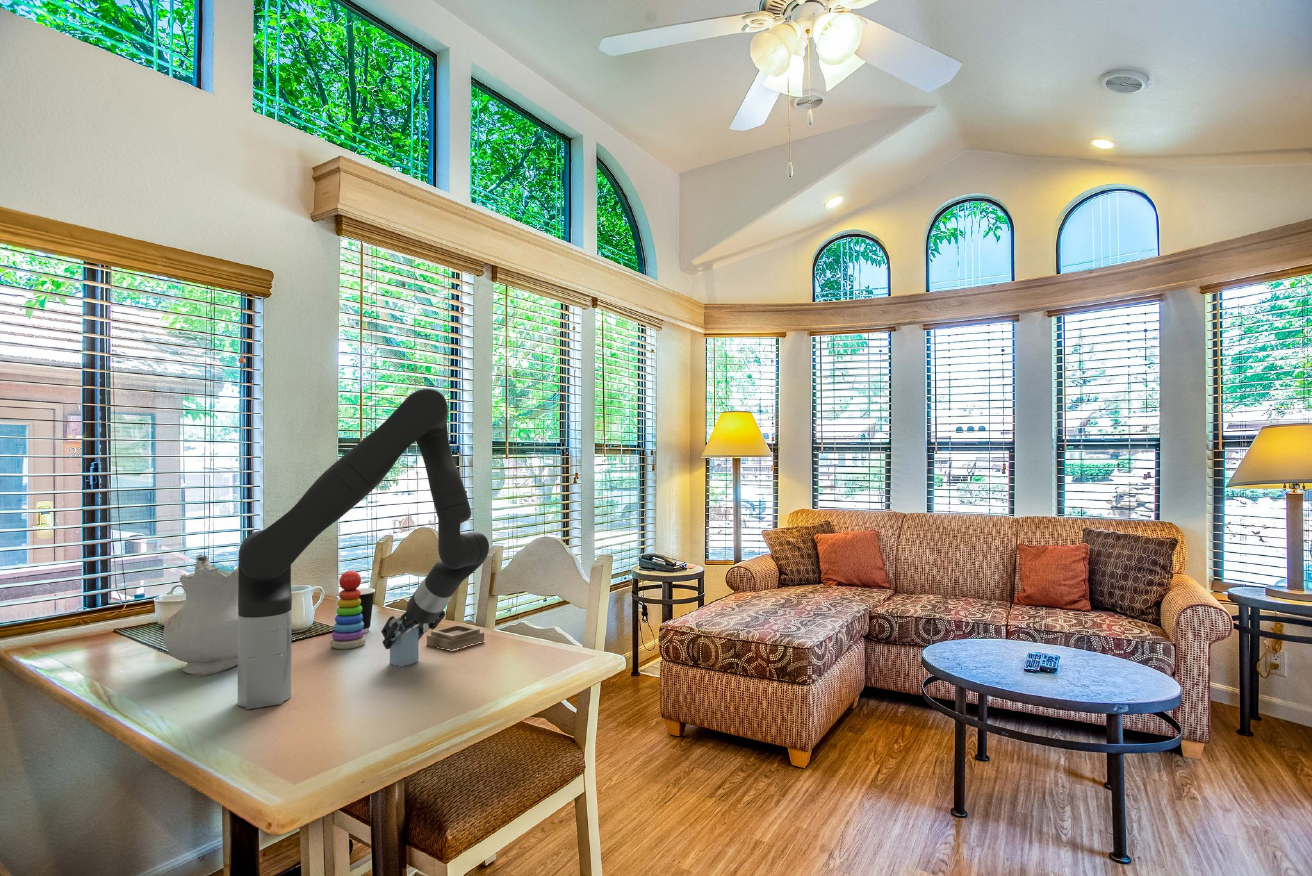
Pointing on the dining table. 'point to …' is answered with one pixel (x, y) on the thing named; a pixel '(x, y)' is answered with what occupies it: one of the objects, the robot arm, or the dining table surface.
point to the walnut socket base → (455, 637)
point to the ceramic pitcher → (206, 621)
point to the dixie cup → (366, 606)
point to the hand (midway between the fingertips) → (400, 642)
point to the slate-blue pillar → (405, 648)
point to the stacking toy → (348, 614)
